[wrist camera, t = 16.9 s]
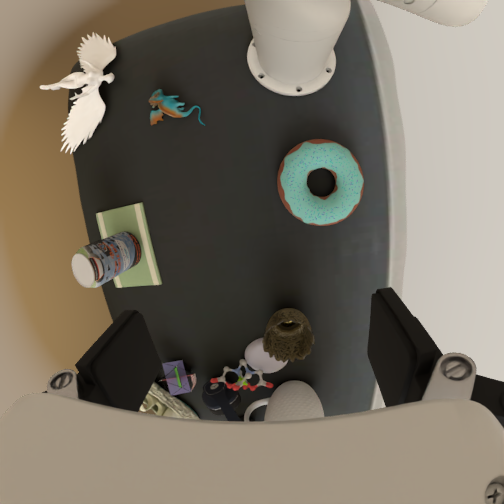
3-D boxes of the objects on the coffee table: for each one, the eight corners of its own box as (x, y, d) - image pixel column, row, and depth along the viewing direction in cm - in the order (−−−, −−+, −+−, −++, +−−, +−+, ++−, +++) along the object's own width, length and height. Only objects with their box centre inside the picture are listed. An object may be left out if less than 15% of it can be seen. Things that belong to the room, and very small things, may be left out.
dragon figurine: (205, 74, 32) (149, 77, 30) (208, 112, 32) (147, 116, 29) (200, 100, 38) (151, 103, 36) (203, 136, 38) (150, 140, 36)
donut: (341, 129, 34) (348, 125, 30) (369, 206, 37) (378, 211, 33) (264, 157, 37) (262, 156, 33) (295, 234, 40) (296, 241, 36)
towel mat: (97, 213, 42) (95, 213, 41) (143, 202, 40) (141, 202, 40) (117, 286, 46) (115, 287, 45) (162, 283, 44) (161, 284, 44)
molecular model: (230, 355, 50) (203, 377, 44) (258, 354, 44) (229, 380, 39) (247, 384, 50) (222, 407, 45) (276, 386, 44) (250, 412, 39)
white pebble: (242, 342, 44) (244, 336, 46) (244, 375, 47) (245, 368, 49) (290, 344, 44) (290, 338, 45) (287, 377, 46) (287, 370, 48)
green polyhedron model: (155, 399, 43) (193, 392, 43) (146, 364, 45) (184, 356, 45) (170, 395, 49) (204, 388, 49) (162, 365, 52) (196, 357, 52)
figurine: (58, 35, 27) (124, 34, 34) (37, 156, 36) (102, 152, 44) (51, 12, 18) (132, 11, 25) (21, 163, 27) (103, 157, 35)
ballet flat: (184, 423, 58) (175, 446, 51) (113, 361, 53) (97, 382, 46) (207, 417, 56) (200, 442, 48) (132, 349, 50) (115, 373, 43)
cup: (299, 338, 45) (301, 368, 38) (259, 325, 45) (255, 355, 38) (317, 303, 43) (323, 331, 35) (274, 289, 43) (273, 315, 35)
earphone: (256, 422, 56) (294, 472, 39) (231, 436, 54) (264, 489, 37) (223, 367, 51) (263, 424, 34) (193, 382, 48) (222, 445, 32)
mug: (252, 408, 52) (245, 456, 40) (243, 375, 49) (233, 427, 37) (320, 403, 50) (325, 452, 38) (320, 369, 47) (327, 422, 35)
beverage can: (148, 264, 43) (110, 296, 32) (113, 263, 44) (73, 292, 33) (143, 227, 41) (101, 251, 30) (107, 229, 42) (62, 250, 31)
